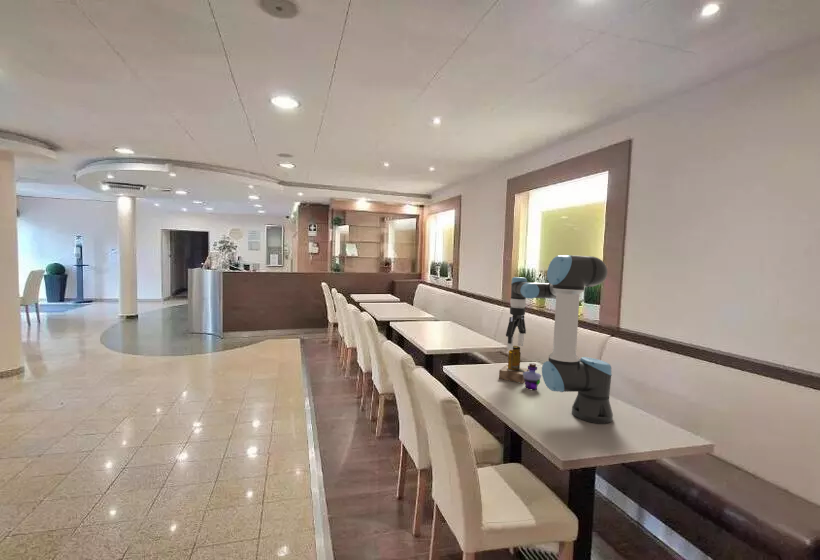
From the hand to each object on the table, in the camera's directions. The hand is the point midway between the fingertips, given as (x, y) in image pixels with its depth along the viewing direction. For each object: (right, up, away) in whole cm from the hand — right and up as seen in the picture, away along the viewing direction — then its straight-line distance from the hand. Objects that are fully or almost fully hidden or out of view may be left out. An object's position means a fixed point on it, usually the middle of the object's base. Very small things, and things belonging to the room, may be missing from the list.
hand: (515, 347), depth 204 cm
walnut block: (-1, -17, +1) cm, 17 cm away
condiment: (0, -12, +1) cm, 12 cm away
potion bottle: (+4, -18, -14) cm, 22 cm away
